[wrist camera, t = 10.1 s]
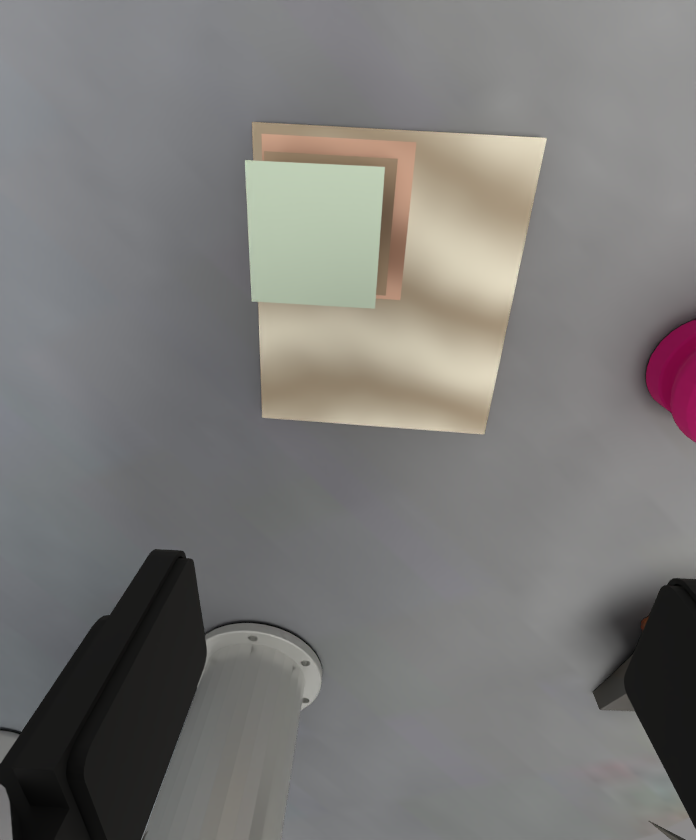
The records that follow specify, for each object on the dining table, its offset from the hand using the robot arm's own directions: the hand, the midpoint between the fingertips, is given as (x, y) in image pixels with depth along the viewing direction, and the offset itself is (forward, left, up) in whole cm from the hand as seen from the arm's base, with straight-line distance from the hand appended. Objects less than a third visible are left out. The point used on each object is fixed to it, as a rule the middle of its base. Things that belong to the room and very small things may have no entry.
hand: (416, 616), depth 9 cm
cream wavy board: (+2, +1, -22) cm, 22 cm away
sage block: (+6, +4, -17) cm, 18 cm away
